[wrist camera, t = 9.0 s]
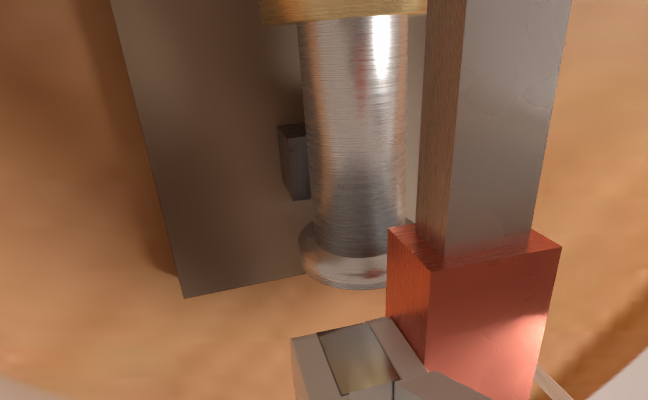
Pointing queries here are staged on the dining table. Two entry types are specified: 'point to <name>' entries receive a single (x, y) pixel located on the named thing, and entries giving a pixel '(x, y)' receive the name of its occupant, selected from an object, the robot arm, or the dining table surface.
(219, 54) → the walnut board
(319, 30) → the pipe valve
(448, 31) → the valve lever
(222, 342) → the dining table surface
